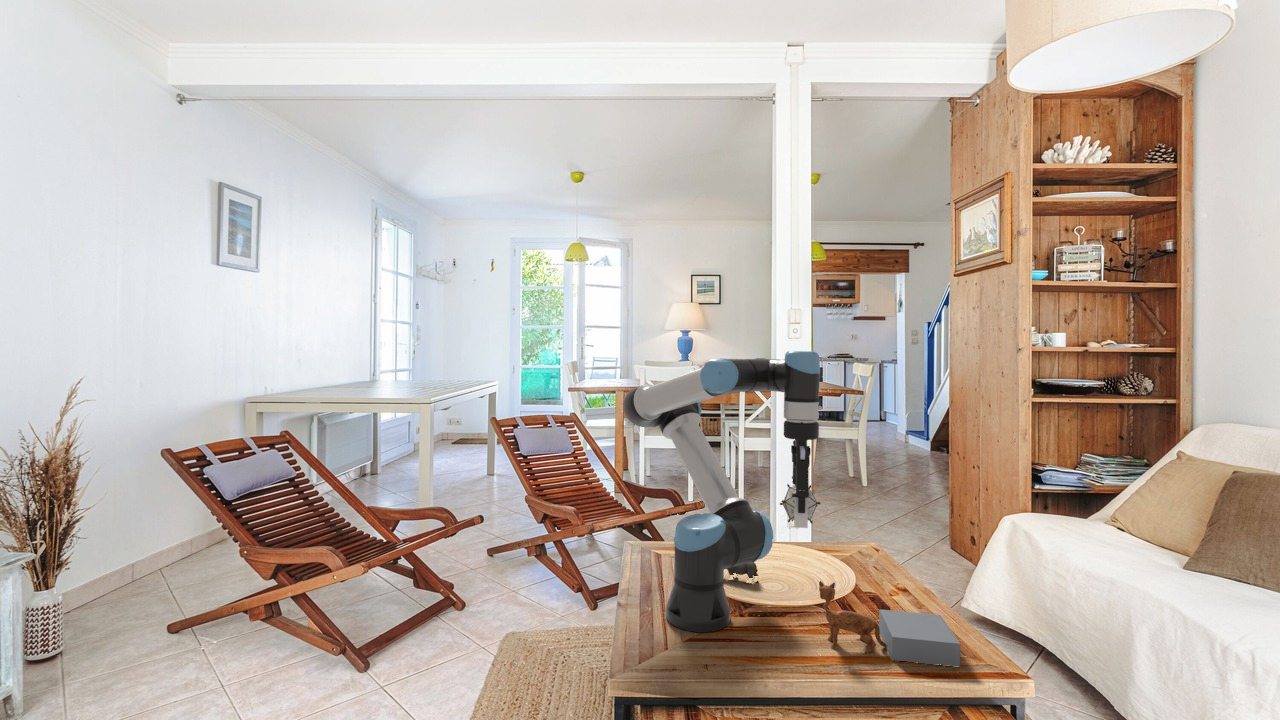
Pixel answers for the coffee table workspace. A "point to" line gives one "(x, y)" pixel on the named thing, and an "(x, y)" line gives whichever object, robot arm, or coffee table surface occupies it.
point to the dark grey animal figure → (744, 569)
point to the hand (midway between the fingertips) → (799, 520)
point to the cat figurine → (848, 621)
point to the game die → (790, 503)
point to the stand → (918, 638)
